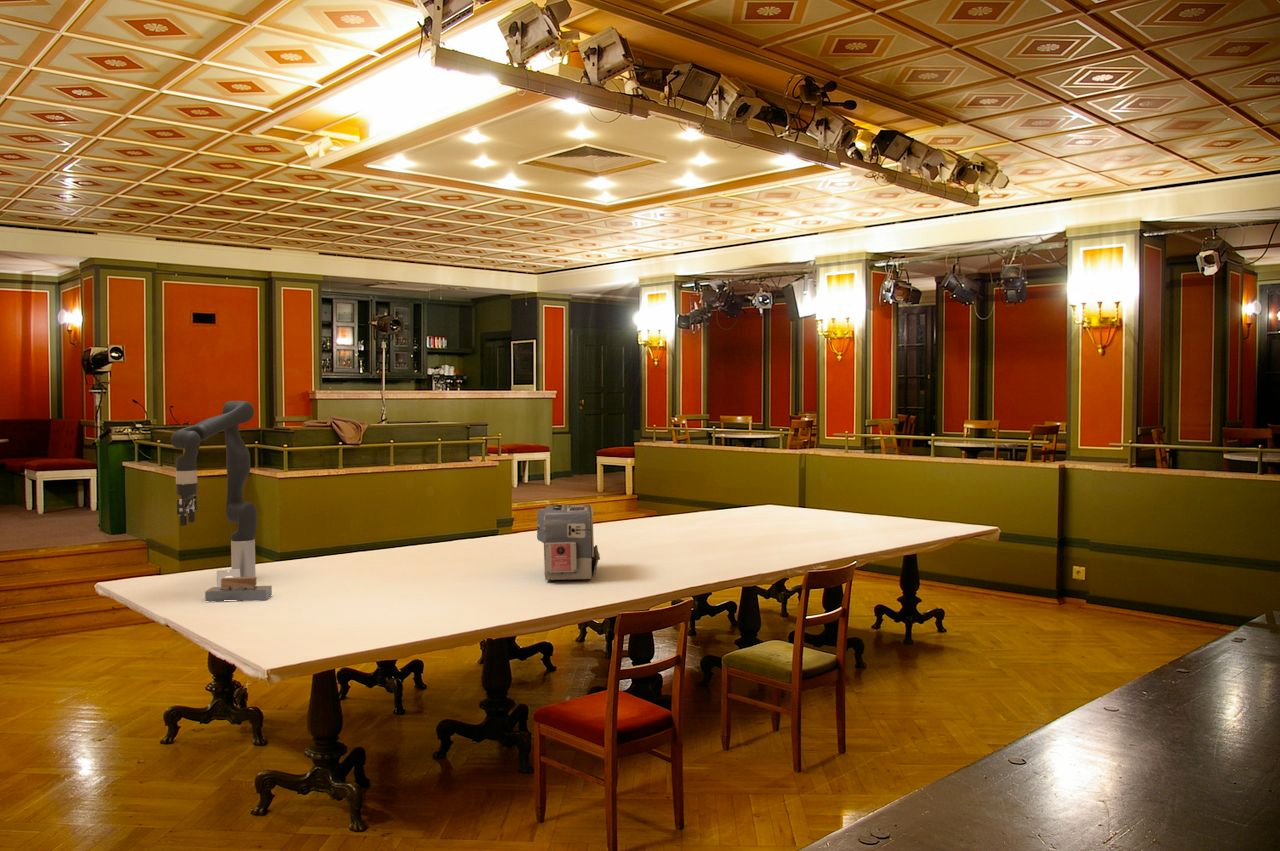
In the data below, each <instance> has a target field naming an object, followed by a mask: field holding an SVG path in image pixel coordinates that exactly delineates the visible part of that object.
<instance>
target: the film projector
mask: <svg viewBox="0 0 1280 851" xmlns="http://www.w3.org/2000/svg"><path fill="white" fill-rule="evenodd" d="M593 511H594V510H593V506H592V505H591V506H590V504H566V505H565V504H554V505H546V506H545V508H538V509H537V514H536V515H537V521H536V522H537V525H536V538H537V540H538V541H539V542H541V543H543V557H544V559H543V560H544V562H543V563H544V564H543V565H544V578H545V581H547V583H552V582H553V581H557V580H558V581H559V580H562V581H563V580H584V581H586V582H587V581H588V582H590V580H591V579H592V577H595V576H596V571H597V566H598V563H599V560H601V554H600V552H599V549H598V545H596V544H595V543H594V540H595V539H594V512H593ZM594 544H595V545H594Z"/></svg>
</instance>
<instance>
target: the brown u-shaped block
mask: <svg viewBox="0 0 1280 851" xmlns="http://www.w3.org/2000/svg"><path fill="white" fill-rule="evenodd" d="M245 586H247V589H256V586H257V576H256V577H229V578H222V579H221V587H222V590H231V587H245Z"/></svg>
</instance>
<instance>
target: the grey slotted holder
mask: <svg viewBox="0 0 1280 851" xmlns="http://www.w3.org/2000/svg"><path fill="white" fill-rule="evenodd" d="M272 587H273V585H256V589H247V586H245V587H231V590H222V587H217V586H212V587H210V588H208V589H207V590H205V591H204V595H205V596H204V597H205V598H204V600H205V601H224V600H260V601H267V600H268V599H270V598H271V597H272V596H273V594H272V593H273V588H272ZM271 595H272V596H271ZM270 596H271V597H270ZM269 597H270V598H269ZM267 598H268V599H267ZM266 599H267V600H266Z"/></svg>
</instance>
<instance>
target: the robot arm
mask: <svg viewBox="0 0 1280 851" xmlns="http://www.w3.org/2000/svg"><path fill="white" fill-rule="evenodd" d="M254 415H255V409H254V405H252V403H250V402H249V401H245V400H229V401H226V402H225V403H224V404H223V407H222V412H221V414H219V415H215V416H212V417H209V418H205V419H203V420H202V421H200V422H198V423H196V424H193V425H190V426H186V427H183V428H181V429H177V430H176V431H175V432H173V433H172V435H171V437H170V443H171V445H172V447H174V448H176V449H179V450H180V449H181V450H184V452H183V454H180V455H178V456H176V460H175V467H176V468H175V470H176V472H175V494H176V495H177V496H180V498H178V499H177V500H176V514H177V515H178V516H179V522H180V523H179V525H180V526H185V527H186V526H187V525H188V523H195V522H196V518H195V517H196V512H197V511H198V500H197V499H198V497H197V494H198V490H199V489H198V474H197V473H198V472H197V458H198V454H199V450H200V446H201V442H203V441H205V440H208V439H209V438H211V437H213V436H215V435H217V434H219V433H220V432H223V431H224V438H225V451H226V452H225V454H226V456H225V460H226V481H227V482H226V485H227V486H226V489H227V491H226V503H225V515H226V518H227V520H228V521H229V522H230V523H232V524H238V526H237V527H238V528H237V530H236V531H234V532H232V533H231V534H230V553H231V554H230V555H231V558H230V560H231V569H240V577H256V578H257V576H256V541H255V540H256V539H255V538H256V533H257V528H258V510H257V507H256V505H255V504H254V503H253V502H251V501H244V500H243V499H244V498H243V491H244V490H243V489H244V485H245V484H246V482H247V479H248V478H249V475H250V472H251V453H250V451H249V449H248V447H247V446H246V444H245V442H244V440H243V439H242V437H241V434H240V429H239V428H240V426H239V425H241V424H246V423H249V422H250V421H251V420H252V419H253V418H254Z"/></svg>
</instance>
